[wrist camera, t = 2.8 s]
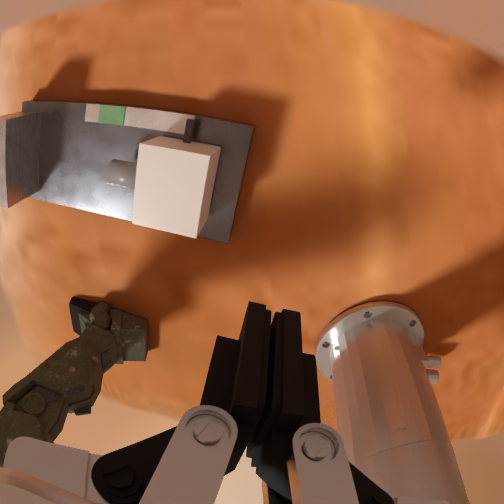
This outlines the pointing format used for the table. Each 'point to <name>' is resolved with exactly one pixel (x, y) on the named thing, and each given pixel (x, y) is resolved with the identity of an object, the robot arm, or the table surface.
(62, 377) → the mechanical leg
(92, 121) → the gauge base
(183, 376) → the table surface
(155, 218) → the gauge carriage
